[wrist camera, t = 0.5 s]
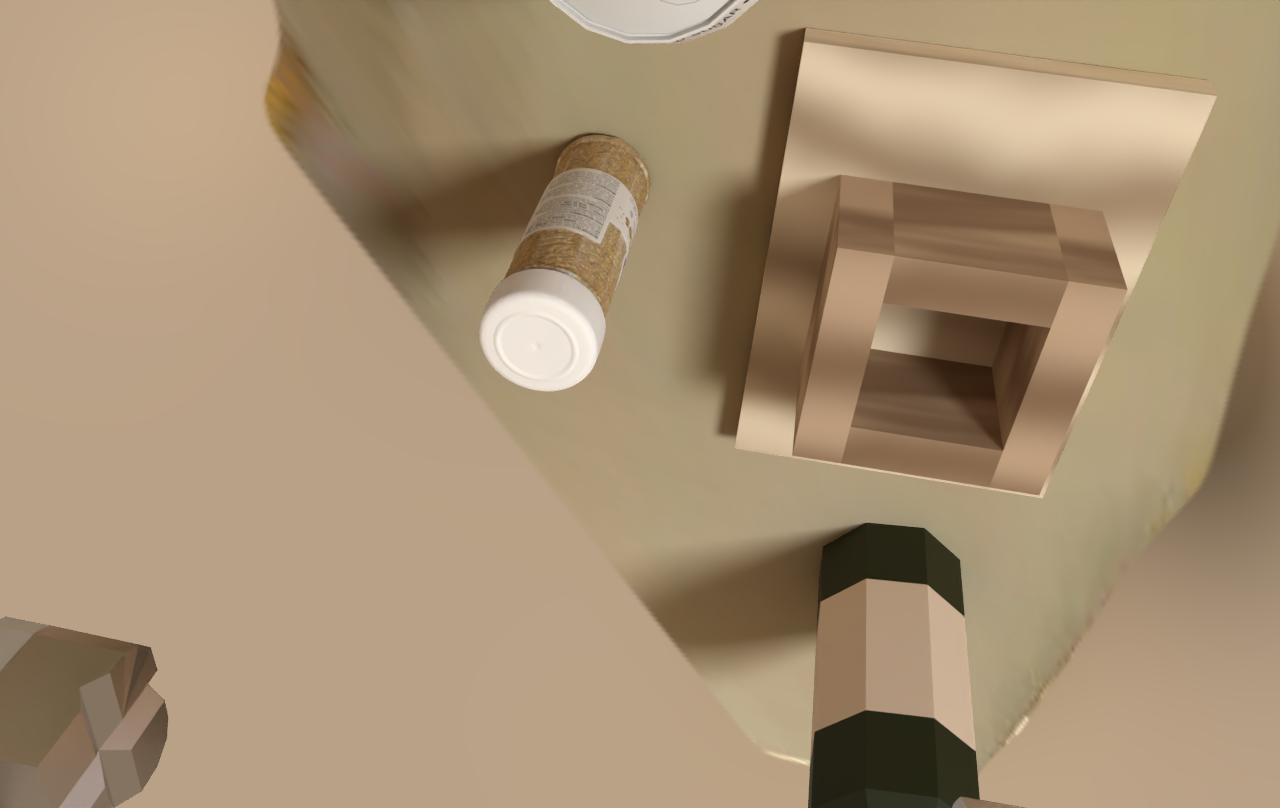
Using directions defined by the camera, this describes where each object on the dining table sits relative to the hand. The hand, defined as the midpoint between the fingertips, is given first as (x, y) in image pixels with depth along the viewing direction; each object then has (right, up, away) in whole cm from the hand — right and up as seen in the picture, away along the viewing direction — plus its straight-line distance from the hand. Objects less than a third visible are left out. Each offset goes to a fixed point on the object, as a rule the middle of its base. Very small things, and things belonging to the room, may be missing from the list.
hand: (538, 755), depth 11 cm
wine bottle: (+15, -6, +53) cm, 56 cm away
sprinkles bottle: (-1, +14, +40) cm, 42 cm away
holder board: (+15, +9, +40) cm, 44 cm away
